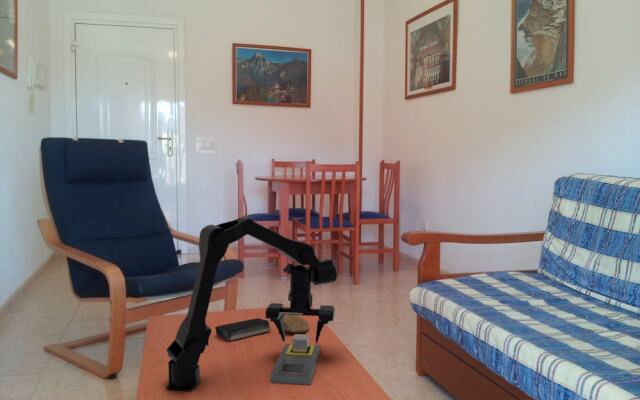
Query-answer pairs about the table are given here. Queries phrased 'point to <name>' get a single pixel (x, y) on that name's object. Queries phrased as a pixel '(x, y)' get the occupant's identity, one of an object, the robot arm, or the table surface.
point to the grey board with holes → (295, 366)
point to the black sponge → (242, 329)
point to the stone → (295, 324)
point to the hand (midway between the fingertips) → (300, 341)
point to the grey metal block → (300, 343)
